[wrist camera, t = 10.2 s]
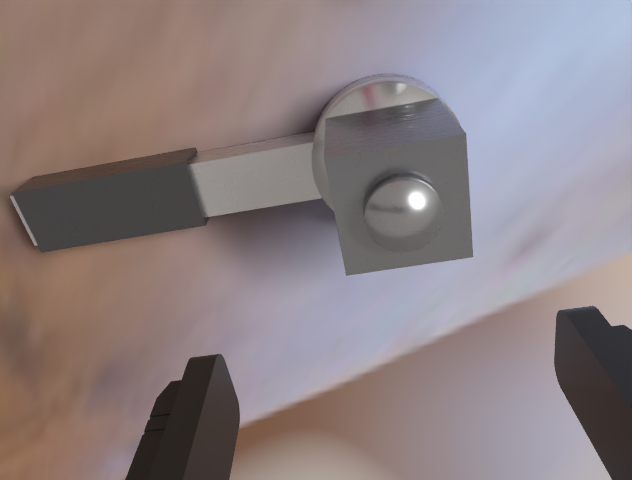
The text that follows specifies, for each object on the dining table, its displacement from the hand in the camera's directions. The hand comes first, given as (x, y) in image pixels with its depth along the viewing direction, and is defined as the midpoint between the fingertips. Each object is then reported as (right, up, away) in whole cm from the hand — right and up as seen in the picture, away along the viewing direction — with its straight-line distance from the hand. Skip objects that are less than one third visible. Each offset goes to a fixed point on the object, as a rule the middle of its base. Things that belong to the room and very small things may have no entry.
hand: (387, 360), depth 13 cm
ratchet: (-6, +7, +18) cm, 20 cm away
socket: (+2, +7, +14) cm, 16 cm away
